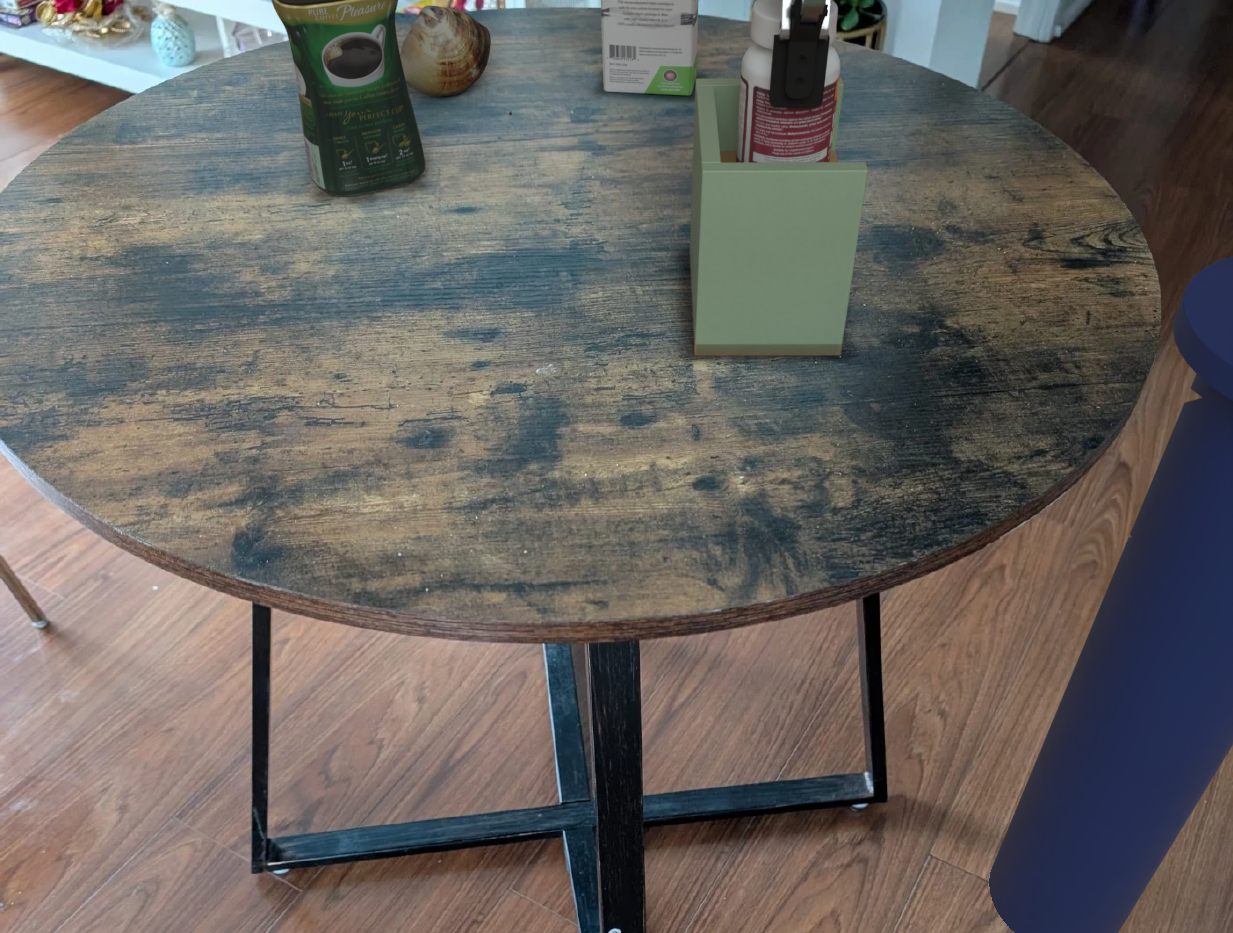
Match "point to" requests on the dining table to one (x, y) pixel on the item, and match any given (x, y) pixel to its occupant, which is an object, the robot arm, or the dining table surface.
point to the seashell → (444, 51)
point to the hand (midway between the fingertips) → (790, 79)
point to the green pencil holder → (768, 240)
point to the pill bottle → (782, 129)
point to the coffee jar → (352, 94)
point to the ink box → (649, 46)
